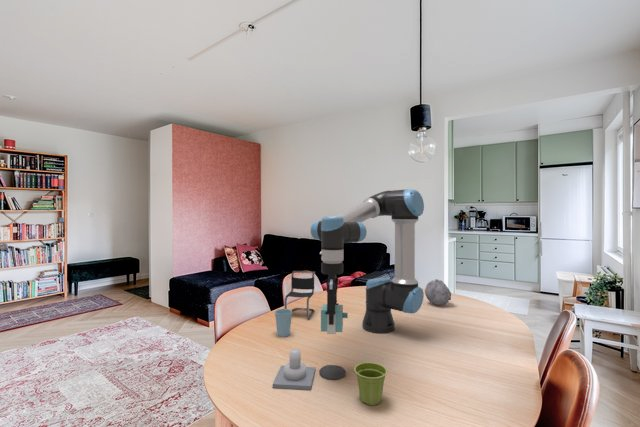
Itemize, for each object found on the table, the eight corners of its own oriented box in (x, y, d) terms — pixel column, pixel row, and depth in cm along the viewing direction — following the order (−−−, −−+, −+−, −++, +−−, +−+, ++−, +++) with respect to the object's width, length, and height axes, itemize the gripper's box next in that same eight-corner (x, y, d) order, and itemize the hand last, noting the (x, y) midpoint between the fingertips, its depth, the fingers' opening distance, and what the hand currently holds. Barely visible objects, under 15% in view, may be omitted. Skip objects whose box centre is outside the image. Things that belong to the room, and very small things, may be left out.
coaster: (346, 367, 111) (346, 365, 111) (345, 380, 102) (345, 378, 102) (320, 366, 112) (320, 364, 112) (317, 379, 103) (317, 377, 103)
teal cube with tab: (320, 331, 104) (320, 310, 104) (322, 324, 111) (322, 304, 111) (347, 332, 103) (347, 311, 103) (347, 325, 110) (347, 305, 110)
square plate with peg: (315, 370, 109) (315, 344, 109) (310, 390, 97) (310, 360, 97) (281, 368, 110) (281, 343, 110) (272, 387, 98) (272, 358, 98)
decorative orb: (455, 308, 180) (455, 282, 180) (429, 308, 180) (429, 282, 180) (445, 301, 194) (445, 277, 194) (421, 301, 195) (421, 277, 195)
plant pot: (351, 391, 97) (351, 362, 97) (381, 389, 97) (381, 361, 97) (357, 410, 87) (357, 378, 87) (391, 408, 88) (391, 377, 88)
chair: (315, 310, 177) (315, 271, 177) (308, 320, 160) (308, 277, 160) (293, 309, 179) (293, 270, 179) (284, 319, 162) (284, 276, 162)
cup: (294, 336, 140) (294, 312, 140) (277, 339, 137) (277, 315, 137) (289, 330, 147) (289, 307, 147) (273, 333, 144) (272, 310, 144)
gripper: (323, 257, 118) (323, 319, 118) (318, 266, 98) (317, 340, 98) (344, 257, 117) (344, 320, 117) (342, 266, 97) (342, 341, 97)
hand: (332, 329), depth 107 cm, fingers closed on teal cube with tab, 7 cm apart
